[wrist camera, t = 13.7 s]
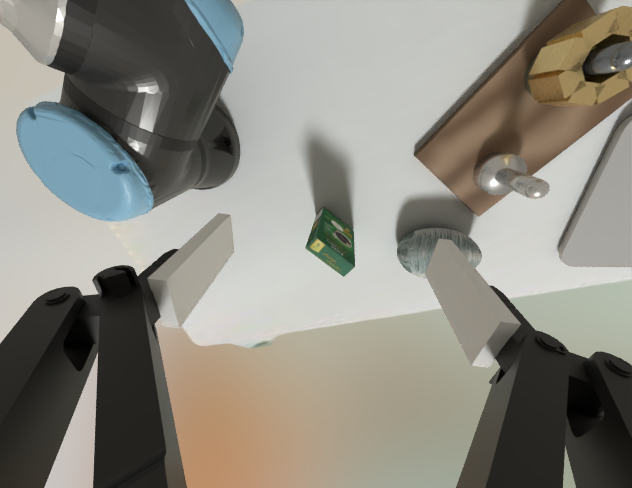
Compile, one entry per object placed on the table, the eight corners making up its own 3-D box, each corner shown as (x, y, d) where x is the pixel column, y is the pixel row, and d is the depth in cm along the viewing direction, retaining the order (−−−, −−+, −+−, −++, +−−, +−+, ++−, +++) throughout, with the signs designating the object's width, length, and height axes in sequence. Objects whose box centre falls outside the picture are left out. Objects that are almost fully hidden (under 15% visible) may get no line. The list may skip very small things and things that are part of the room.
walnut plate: (413, 154, 40) (415, 156, 39) (568, -6, 30) (579, -11, 28) (474, 213, 44) (478, 216, 42) (632, 89, 33) (644, 88, 32)
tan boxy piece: (516, 99, 32) (544, 98, 27) (555, 18, 28) (594, 1, 23) (578, 109, 31) (616, 109, 27) (626, 29, 27) (679, 14, 23)
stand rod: (464, 173, 39) (503, 195, 30) (499, 142, 37) (555, 154, 27) (487, 196, 41) (532, 224, 31) (522, 168, 38) (583, 188, 28)
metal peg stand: (514, 75, 33) (586, 61, 23) (561, 29, 30) (664, -10, 20) (539, 107, 34) (617, 106, 24) (586, 65, 31) (695, 45, 22)
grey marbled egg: (387, 274, 48) (416, 284, 38) (390, 226, 48) (420, 224, 38) (447, 275, 51) (490, 285, 41) (451, 229, 50) (494, 229, 40)
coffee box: (313, 215, 47) (303, 249, 36) (322, 205, 46) (315, 236, 35) (344, 239, 49) (344, 279, 38) (354, 230, 48) (357, 268, 37)
